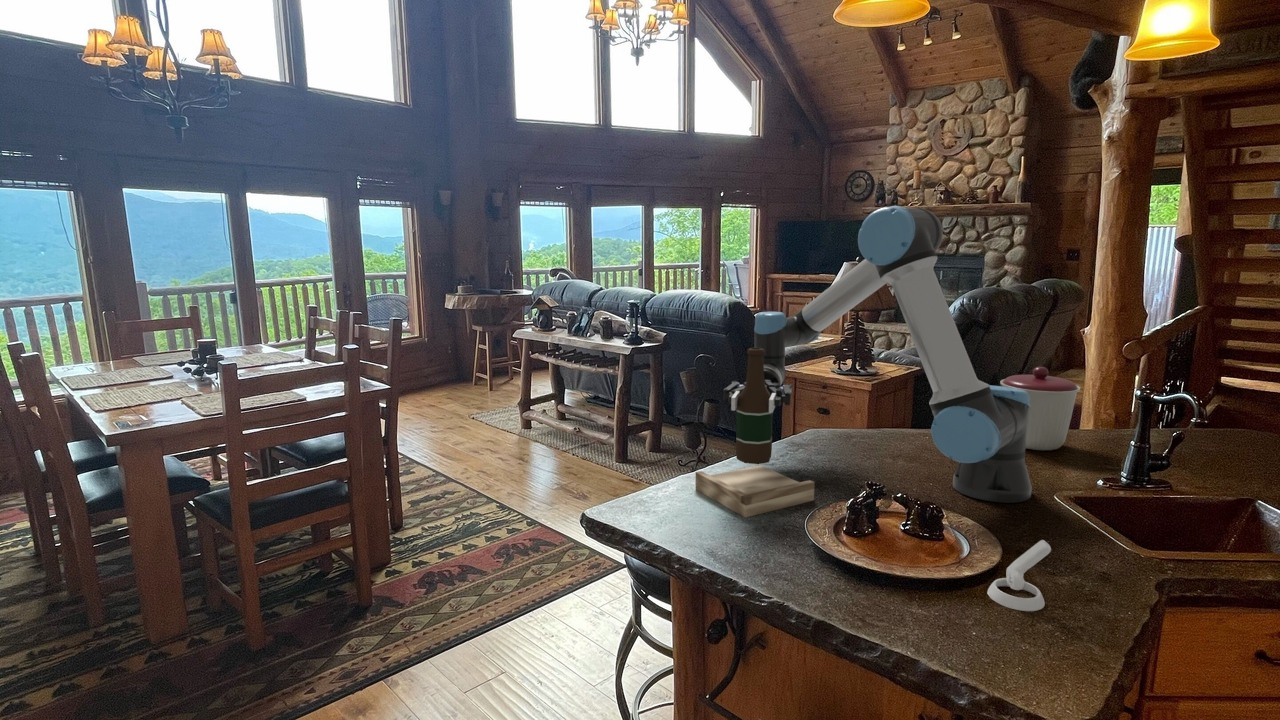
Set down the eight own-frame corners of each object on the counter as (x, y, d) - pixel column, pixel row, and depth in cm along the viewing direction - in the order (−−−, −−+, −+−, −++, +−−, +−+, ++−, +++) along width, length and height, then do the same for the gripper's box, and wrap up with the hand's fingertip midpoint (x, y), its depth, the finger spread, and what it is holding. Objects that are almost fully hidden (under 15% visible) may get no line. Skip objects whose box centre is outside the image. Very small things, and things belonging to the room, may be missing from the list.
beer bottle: (732, 453, 149) (733, 346, 144) (766, 452, 149) (769, 345, 145) (740, 465, 141) (741, 351, 137) (776, 464, 142) (779, 351, 137)
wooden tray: (813, 500, 143) (814, 482, 142) (745, 517, 134) (745, 498, 133) (759, 475, 158) (760, 458, 157) (695, 489, 150) (695, 472, 149)
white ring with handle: (1092, 588, 96) (1052, 561, 95) (1027, 635, 101) (989, 609, 101) (1074, 554, 102) (1036, 529, 102) (1014, 600, 108) (978, 576, 107)
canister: (981, 442, 181) (987, 365, 178) (1017, 432, 191) (1024, 358, 187) (1052, 460, 166) (1060, 376, 163) (1087, 447, 176) (1096, 368, 173)
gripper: (807, 400, 158) (801, 426, 136) (722, 395, 163) (703, 419, 142) (808, 369, 156) (802, 389, 135) (723, 365, 162) (704, 384, 140)
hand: (751, 405), depth 138 cm, fingers closed on beer bottle, 7 cm apart
